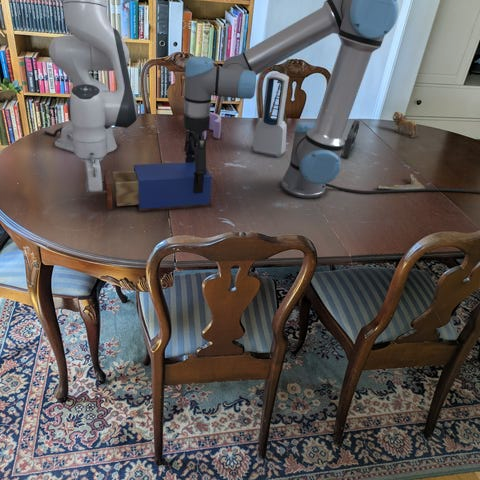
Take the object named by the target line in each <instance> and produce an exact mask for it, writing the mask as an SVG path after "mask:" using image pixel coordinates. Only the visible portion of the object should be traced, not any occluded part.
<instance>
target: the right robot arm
mask: <svg viewBox="0 0 480 480" xmlns="http://www.w3.org/2000/svg"><path fill="white" fill-rule="evenodd" d="M398 17H399V2H398V0H325V1H324V2H323V5H322V6H321V7H320V8H318V9H316V10H315V11H313V12H311V13H310V14H308V15H306V16H304V17H303V18H300V19H299V20H297V21H296V22H294V23H292V24H290V25H288V26H286V27H285V28H283V29H282V30H279V31H278V32H276V33H275V34H273V35H271V36H269V37H268V38H265V39H264V40H262V41H260V42H258V43H257V44H255V45H253V46H251V47H250V48H248V49H246V50H245V51H243V52H241V53H239V54H237V55H232V56H229V57H227V58H226V59H225V61H224V62H223V63H222V66H221V67H217V66H215V63H214V60H213V59H212V58H210V57H208V56H207V57H206V56H202V55H201V56H199V55H196V56H195V55H194V56H191V57H188V58H187V59H186V60H185V61H186V62H185V71H184V73H185V74H184V98H183V113H184V114H183V128H184V129H185V130H186V132H185V139H184V140H185V141H184V148H183V151H184V156H185V160H184V161H185V162H184V163H188V162H195V172H193V174H194V190H193V192H194V193H203V180H204V175H206V173H207V172H206V168H207V148H206V147H207V140H206V139H205V140H204V136H203V132H204V131H206V132H207V131H208V130H210V129H209V126H210V116H209V115H210V112H211V107H213V105H214V104H213V103H212V97H224V98H231V99H232V98H233V99H240V100H252V99H253V98H254V97H255V95H256V87H257V76H258V75H259V74H261V73H263V72H265V71H267V70H268V69H270V68H272V67H274V65H276V66H277V65H279V63H281V62H283V61H285V60H286V59H289V58H290V57H292V56H294V55H296V54H298V53H299V52H301V51H303V50H305V49H307V48H309V47H310V46H312V45H314V44H316V43H319V42H320V41H321V40H323V39H325V38H327V37H329V36H330V35H332V34H335V35H337V36H338V38H339V41H340V46H339V49H338V52H337V55H336V58H335V61H334V65H333V66H332V67H333V68H332V70H331V74H330V77H329V80H328V83H327V85H326V89H325V91H324V95H323V98H322V101H321V105H320V108H319V110H318V112H317V113H318V114H317V116H316V120H315V121H301V122H299V123H297V124H296V126H295V129H294V137H293V142H292V148H291V154H290V160H289V166H288V168H287V169H286V171H285V174H284V175H283V178H282V179H281V184H280V187H281V190H283V191H284V192H285V193H286V194H288V195H290V196H292V197H296V198H300V199H318V198H322V197H323V196H324V195H325V192H326V188H327V187H329V188H332V189H335V190H338V191H344V192H349V193H356V194H386V193H387V194H388V193H411V192H456V193H457V192H458V193H471V194H472V193H473V194H480V192H479V191H480V190H475V189H471V190H472V191H467V190H468V189H463V188H462V189H460V188H424V189H400V190H390V189H377V190H360V189H353V188H346V187H341V186H337V185H334V184H330V182H332V181H333V180H335V179H336V178H337V177H338V176H339V173H340V171H341V168H342V162H341V158H340V157H341V156H342V152H343V151H344V148H345V145H346V141H345V140H344V137H343V134H344V132H345V129H346V127H347V123H348V121H349V118H350V116H351V112H352V110H353V107H354V104H355V101H356V99H357V96H358V93H359V90H360V88H361V85H362V82H363V79H364V77H365V74H366V71H367V69H368V66H369V63H370V60H371V57H372V55H373V53H374V52H375V51H377V50H378V49H380V48H381V47H382V45H383V42H384V38H385V36H386V35H387V34H388V33H390V32H391V31H392V30H393V28H394V27H395V24H396V23H397V20H398Z"/></svg>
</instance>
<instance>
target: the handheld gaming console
mask: <svg viewBox="0 0 480 480" xmlns="http://www.w3.org/2000/svg"><path fill="white" fill-rule="evenodd" d="M360 123H361V122H360V120H358V119H354V120H353V122H352V124H351V127H350V129H349V131H348V133H347V135H346V136H347V137H346V141H345V144H344V148H343V154H342V158H343V159H349V158H350V156H351V153H352V151H353V148H354V145H355V144H356V141H357V136H358V133H359V129H360Z"/></svg>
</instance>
